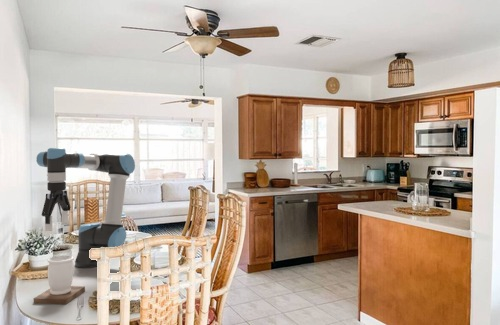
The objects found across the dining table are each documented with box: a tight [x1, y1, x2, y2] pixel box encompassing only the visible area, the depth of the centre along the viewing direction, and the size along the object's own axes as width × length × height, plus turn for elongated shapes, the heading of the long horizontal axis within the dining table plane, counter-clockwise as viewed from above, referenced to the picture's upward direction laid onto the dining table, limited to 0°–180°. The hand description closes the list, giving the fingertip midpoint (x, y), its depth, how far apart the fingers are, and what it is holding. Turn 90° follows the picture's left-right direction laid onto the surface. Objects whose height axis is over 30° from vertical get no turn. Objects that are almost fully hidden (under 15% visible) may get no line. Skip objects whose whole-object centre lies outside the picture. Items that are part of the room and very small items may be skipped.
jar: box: [47, 254, 75, 295], centre depth 166 cm, size 11×10×15 cm
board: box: [33, 285, 86, 305], centre depth 166 cm, size 16×14×2 cm
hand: (57, 227), depth 173 cm, fingers open, 13 cm apart
